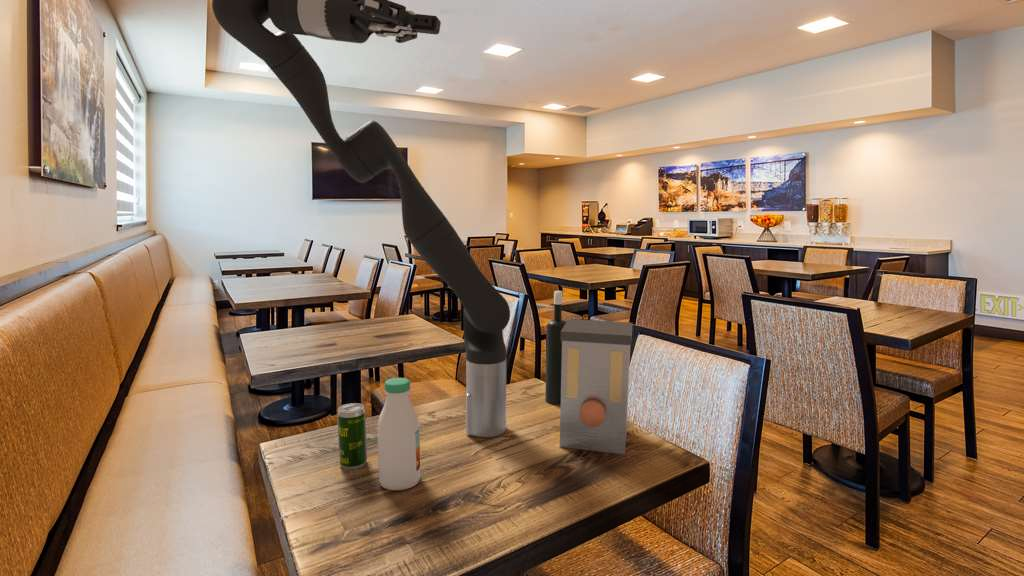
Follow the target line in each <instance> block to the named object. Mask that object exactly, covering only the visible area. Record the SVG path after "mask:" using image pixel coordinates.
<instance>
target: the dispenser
mask: <svg viewBox="0 0 1024 576" xmlns="http://www.w3.org/2000/svg"><path fill="white" fill-rule="evenodd" d="M632 337H633V322H627V321H624V322H623V321H608V320H594V319H593V320H589V319H573V318H569V319H568V320H567V321H566V324H565V325H564V327H563V329H562V330H561V340H560V341H562V367H561V404H560V414H559V415H560V416H559V417H560V418H559V419H560V421H559V448H565V449H576V450H583V451H592V452H601V453H609V454H610V453H611V454H618V455H626V442H627V433H628V432H627V431H628V430H627V429H628V409H629V387H630V386H629V383H630V360H631V346H632V339H633V338H632ZM588 400H596V401H598V402H600V403H601V404H602V405H603V407H604V409H605V417H604V421H603V422H602V424H601V425H599V426H597V427H589V426H587V425H585V424H584V423H583V422H582V421H581V419H580V415H579V414H580V409H581V406H582V405H583V403H585V402H586V401H588Z"/></svg>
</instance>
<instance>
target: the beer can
mask: <svg viewBox="0 0 1024 576" xmlns="http://www.w3.org/2000/svg"><path fill="white" fill-rule="evenodd" d="M337 410H338V411H337V417H336V418H337V436H338V437H337V438H338V452H339V453H338V456H339V457H338V459H339V460H338V461H339V464H340V467H341V468H343V469H344V470H349V471H350V470H357V469H359V468H362V467H364V466H365V465H366V463H367V460H368V450H367V449H368V448H367V424H366V423H367V422H366V409H365V406H364V405H363V403H357V402H356V403H355V402H353V403H352V402H351V403H345V404H342V405H340V406H339V407H338V409H337Z"/></svg>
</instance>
